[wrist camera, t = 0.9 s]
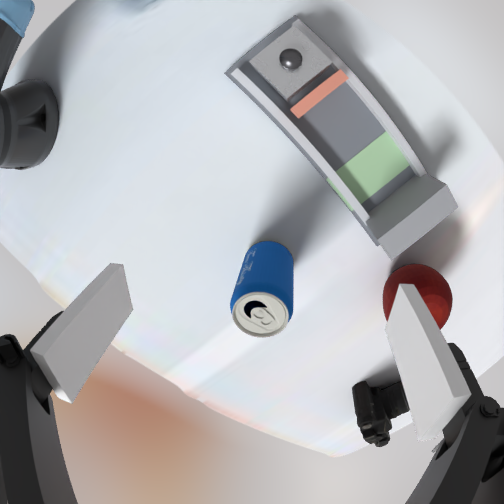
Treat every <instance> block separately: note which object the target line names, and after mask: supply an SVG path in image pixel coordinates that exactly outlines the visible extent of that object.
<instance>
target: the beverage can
mask: <svg viewBox="0 0 504 504" xmlns="http://www.w3.org/2000/svg"><path fill="white" fill-rule="evenodd" d="M230 308H231V313H232V317H233V320H234V322H235V324H236V325H237V327H238V328H239V329H240V330H242V331H243V332H245V333H246V334H248V335H251V336H254V337H271V336H274V335H276V334H278V333H280V332H281V331H282V330H283V329H284V328H285V327H286V325H287V323H288V322H289V321H290V319H291V317H292V314H293V258H292V255H291V253H290V252H289V251H288V249H287V248H286V247H284V246H283V245H281V244H279V243H277V242H273V241H263V242H259V243H257V244H255V245H253V246H252V247H251V248H250V249H249V250H248V251H247V253H246V255H245V258H244V261H243V264H242V267H241V270H240V273H239V276H238V280H237V283H236V286H235V289H234V292H233V295H232V298H231V302H230Z"/></svg>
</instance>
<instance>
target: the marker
mask: <svg viewBox="0 0 504 504" xmlns="http://www.w3.org/2000/svg"><path fill="white" fill-rule="evenodd" d="M348 79H349V78H348V77H347V76H346V74H345V73H344V72H343V71H342V70H341V69H340V70H338V71H337V72H336V73H335V74H333V75H332V76H331V77H329V78H328V79H327V80H325V81H324V82H323V83H322V84H320V85H319V86H318V87H317V88H315V89H314V90H313V91H312V92H310V93H309V94H308V95H307V96H305V97H304V98H303V99H302V100H301V101H299V102H298V103H297V104H296V105H295V106H293V107H292V108H291V110H290V111H291V112H292V113H293V114H294V115H295V116H296V117H297V118H300V117H301V116H302V115H304V114H305V113H306V112H307V111H309V110H310V109H311V108H312V107H313V106H315V105H316V104H317V103H318V102H320V101H321V100H322V99H323V98H325V97H326V96H327V95H328V94H330V93H331V92H332V91H333V90H335V89H336V88H337V87H338V86H340V85H341V84H342V83H344V82H345V81H346V80H348Z"/></svg>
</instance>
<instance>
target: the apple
mask: <svg viewBox="0 0 504 504" xmlns="http://www.w3.org/2000/svg"><path fill="white" fill-rule="evenodd" d="M399 284H414V286H415V287H416V289H417V291H418V292H419V294H420V296H421V297H422V299H423V301H424V302H425V304H426V306H427V308H428V309H429V311H430V313H431V315H432V316H433V318H434V320H435V322H436V324H437V325H438V327H439V329H440V330H441V328H442V327H443V326H444V325H445V323H446V322H447V320H448V318H449V316H450V312H451V308H452V300H453V299H452V293H451V289H450V287H449V284H448V283H447V281H446V280H445V279H444V277H443V276H442V275H441V274H440V273H438V272H437V271H436V270H434V269H433V268H431V267H428V266H425V265H421V264H410V265H406V266H403V267H401V268H399V269H397V270H396V271H395V272H393V273H392V274H391V275H390V277H389V278H388V279H387V281H386V283H385V286H384V290H383V309H384V314H385V317H386V320H387V322H388V319H389V316H390V313H391V310H392V307H393V304H394V300H395V297H396V294H397V291H398V287H399Z"/></svg>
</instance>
